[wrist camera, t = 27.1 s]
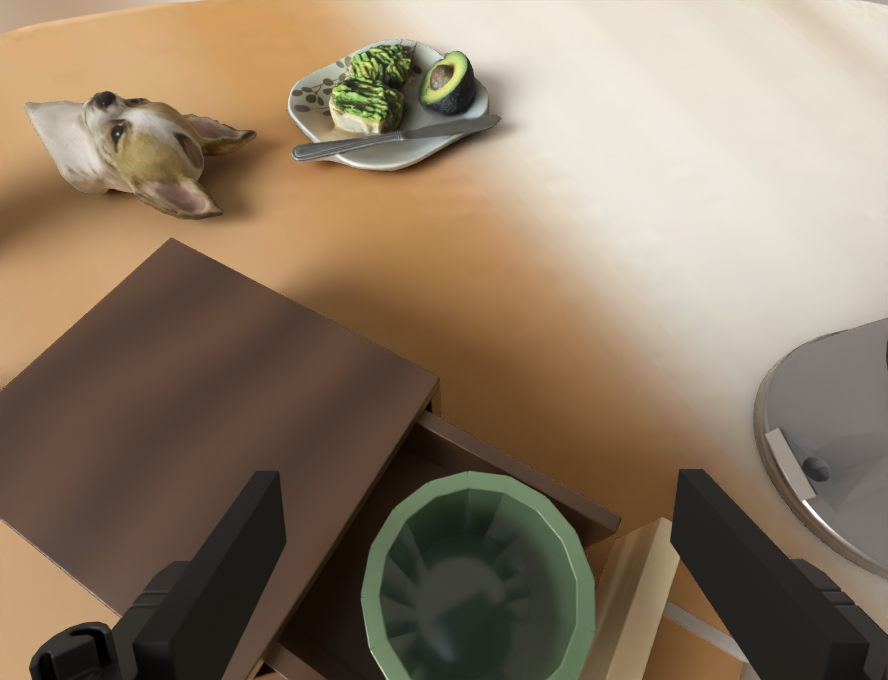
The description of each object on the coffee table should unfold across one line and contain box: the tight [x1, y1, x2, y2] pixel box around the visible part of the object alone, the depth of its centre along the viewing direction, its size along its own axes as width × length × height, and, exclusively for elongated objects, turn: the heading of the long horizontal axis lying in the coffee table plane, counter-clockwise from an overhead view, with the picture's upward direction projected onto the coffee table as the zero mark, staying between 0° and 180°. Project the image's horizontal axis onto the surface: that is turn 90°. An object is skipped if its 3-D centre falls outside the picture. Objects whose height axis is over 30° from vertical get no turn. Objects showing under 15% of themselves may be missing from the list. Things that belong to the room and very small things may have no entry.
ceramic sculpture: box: [24, 91, 257, 220], centre depth 39 cm, size 11×9×15 cm
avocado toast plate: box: [287, 39, 502, 171], centre depth 45 cm, size 19×18×5 cm
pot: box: [361, 471, 596, 680], centre depth 20 cm, size 7×7×11 cm
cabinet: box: [0, 238, 441, 680], centre depth 27 cm, size 18×15×9 cm
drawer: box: [264, 410, 761, 680], centre depth 22 cm, size 23×14×7 cm, turn 60°
